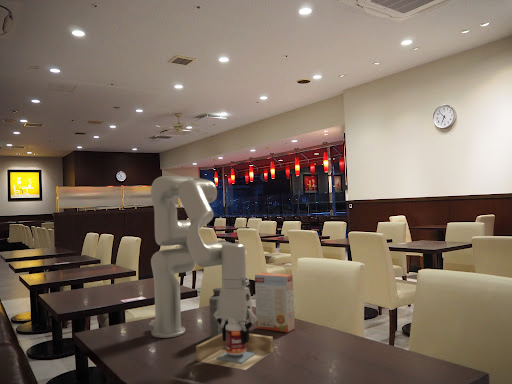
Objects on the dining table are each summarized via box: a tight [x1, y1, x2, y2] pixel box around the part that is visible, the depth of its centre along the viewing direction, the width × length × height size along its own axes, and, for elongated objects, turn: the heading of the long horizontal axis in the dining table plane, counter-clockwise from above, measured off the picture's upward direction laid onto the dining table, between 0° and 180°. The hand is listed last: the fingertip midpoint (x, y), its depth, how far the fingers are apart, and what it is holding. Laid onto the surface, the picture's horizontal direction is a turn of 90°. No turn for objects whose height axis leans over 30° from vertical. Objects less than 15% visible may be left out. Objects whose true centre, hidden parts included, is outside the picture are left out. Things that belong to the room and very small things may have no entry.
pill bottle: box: [226, 318, 246, 356], centre depth 131 cm, size 6×6×11 cm
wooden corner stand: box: [195, 333, 274, 371], centre depth 132 cm, size 18×18×5 cm
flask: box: [208, 287, 222, 339], centre depth 151 cm, size 4×14×18 cm, turn 165°
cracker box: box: [254, 272, 296, 333], centre depth 162 cm, size 14×6×21 cm, turn 58°
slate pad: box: [216, 351, 256, 364], centre depth 131 cm, size 9×9×1 cm
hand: (235, 340), depth 131 cm, fingers closed on pill bottle, 6 cm apart
